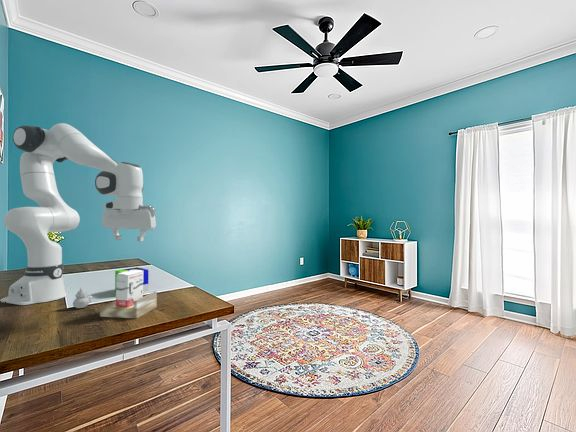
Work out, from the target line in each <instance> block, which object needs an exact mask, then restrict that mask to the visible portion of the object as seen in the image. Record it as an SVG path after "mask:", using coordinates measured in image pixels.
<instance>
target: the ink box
mask: <svg viewBox="0 0 576 432" xmlns="http://www.w3.org/2000/svg"><path fill="white" fill-rule="evenodd" d="M143 273H144V271H143V270H129V271H125V272H121V273H118V274H117V281H116V292H115V301H116V306H118V307H129V306H131V305H133V304H134V301H135V300H138V299H140V298H142V297H144V292H143Z"/></svg>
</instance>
